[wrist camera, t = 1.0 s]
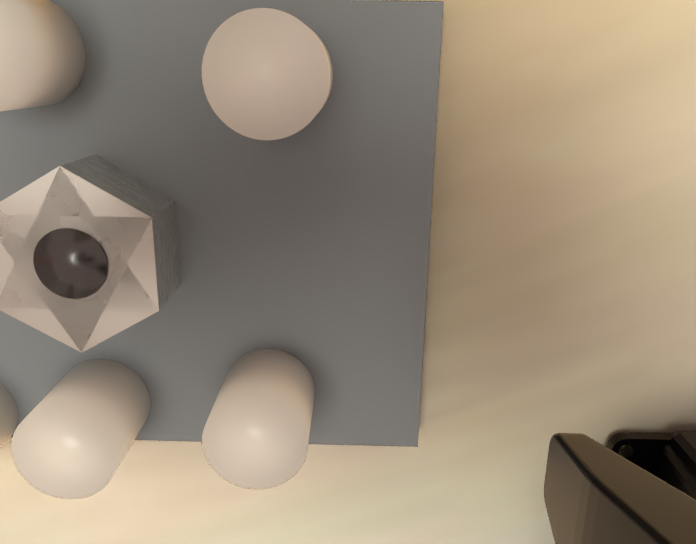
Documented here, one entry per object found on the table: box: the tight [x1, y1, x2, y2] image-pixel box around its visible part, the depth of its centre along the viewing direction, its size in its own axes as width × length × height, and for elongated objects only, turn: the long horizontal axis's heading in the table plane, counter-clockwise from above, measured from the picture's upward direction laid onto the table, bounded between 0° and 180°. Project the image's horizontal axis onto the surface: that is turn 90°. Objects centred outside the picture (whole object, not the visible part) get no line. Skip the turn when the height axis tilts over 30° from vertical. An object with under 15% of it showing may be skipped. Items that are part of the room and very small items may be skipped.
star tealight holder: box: [0, 154, 181, 353], centre depth 19 cm, size 5×5×2 cm
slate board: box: [0, 0, 443, 447], centre depth 20 cm, size 14×24×2 cm, turn 89°
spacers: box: [0, 0, 333, 499], centre depth 18 cm, size 14×14×3 cm
